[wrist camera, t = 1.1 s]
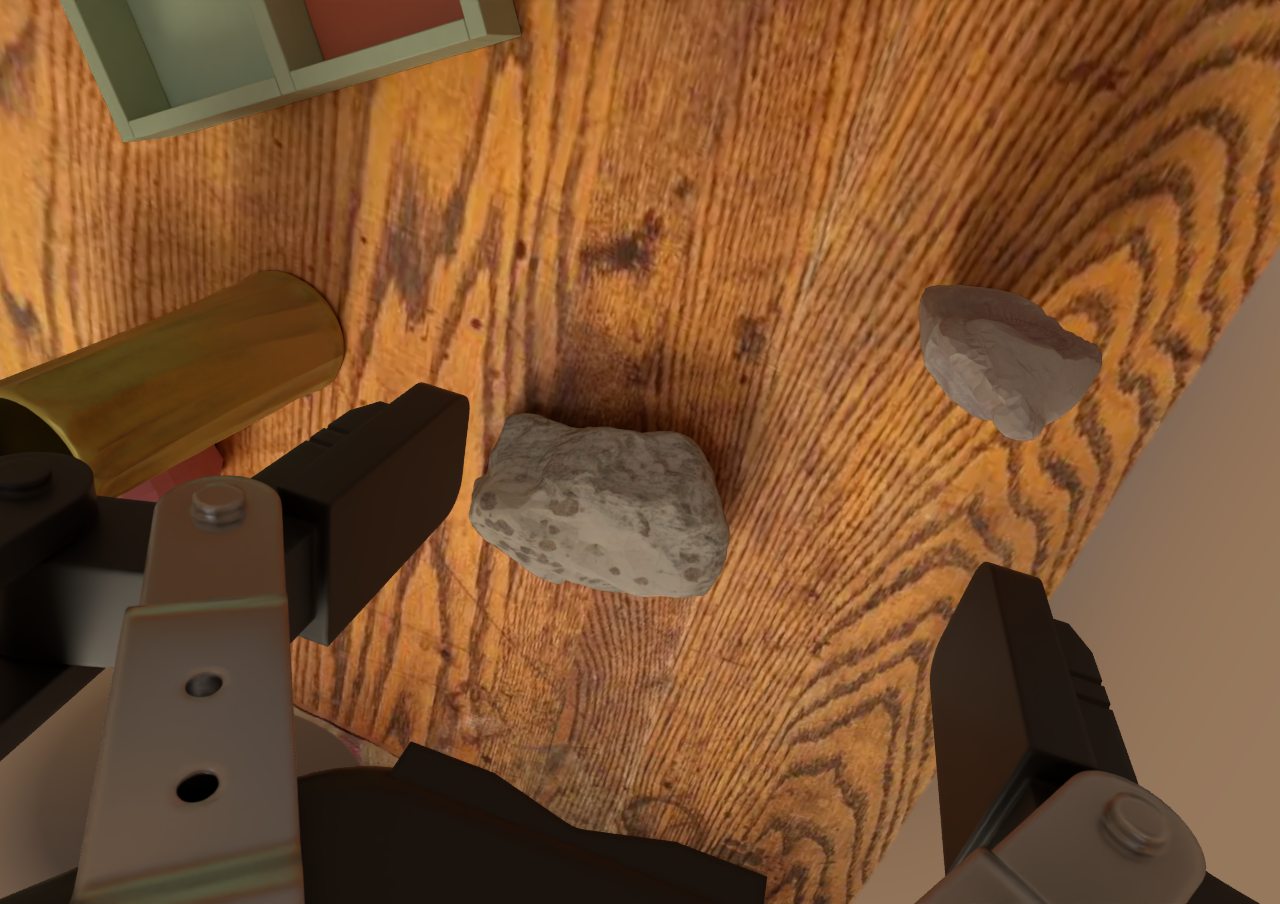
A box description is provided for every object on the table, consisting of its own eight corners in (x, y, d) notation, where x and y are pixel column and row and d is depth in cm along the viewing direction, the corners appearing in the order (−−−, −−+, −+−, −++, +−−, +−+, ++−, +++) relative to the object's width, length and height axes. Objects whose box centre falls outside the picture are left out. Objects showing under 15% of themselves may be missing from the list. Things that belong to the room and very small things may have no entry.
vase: (350, 401, 40) (116, 558, 28) (242, 377, 41) (-29, 517, 29) (342, 282, 37) (78, 396, 25) (226, 259, 38) (-82, 358, 26)
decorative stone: (666, 340, 35) (636, 382, 30) (771, 544, 38) (757, 609, 33) (449, 437, 40) (397, 485, 35) (557, 610, 43) (522, 673, 38)
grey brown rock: (1081, 301, 30) (1166, 404, 21) (1031, 383, 31) (1091, 509, 23) (930, 245, 30) (954, 323, 22) (890, 329, 32) (896, 433, 23)
